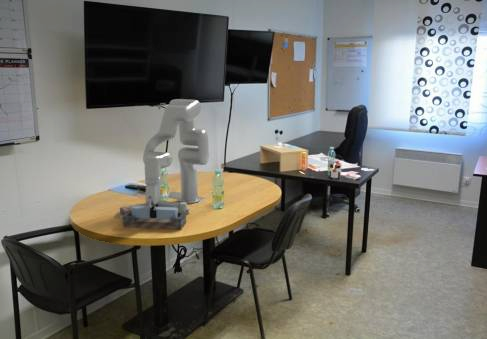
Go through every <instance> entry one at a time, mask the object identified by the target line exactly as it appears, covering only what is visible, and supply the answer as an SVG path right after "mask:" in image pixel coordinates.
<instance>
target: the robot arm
mask: <svg viewBox="0 0 487 339" xmlns="http://www.w3.org/2000/svg"><path fill="white" fill-rule="evenodd" d="M168 104H169V105H168V106H166V107H165V109H164V111H163V115H162V118H161V121H160V125H159V129H158V131H157V132H156V133H155V134H154V135H153V136H152V137H151V138H150V139H149V140H147V143H146V145H145V148H144V151H143V156H142V161H143V164H144V179H145V180H144V182H145V185H146V186H145V203H146V204H147V205H148V204H149V206H148V207H149V210H150V218H156V217H157V215H156V207H159V201H161V199H162V197H161V196H162V193H161V184H162V171H161V170H162V169H166V168H169V167H170V166H171V165H172V163H173V157H172V155H171V154H170V153H168V152H165V151H164V152H163V151H155V149H156V148H157V147H158V146H159V145H161V144H163V143H164V142H165V143H166V142H167V141H169V140H172V139H174V138H175V137H176V133H177V130H178V129H179V142H180V144H182V146H183V145H184V146H185V147H182V148H179V150H178V152H177V159H178V162H179V170H180V175H179V176H180V197H178V203H182V202H186V203H187V205H188V204H189V205H190V204H196V203H199V202H200V201H201V197H200V196H198V170H197V168H196V166H205V165H207V163H208V162H209V155H210V152H209V135H208V133H207V131H206V130H205V129H202V128H195V120H194V119H195V118H196V117H198V116H199V114H200V113H201V111H202V105H201V102H200V101H199V100H197V99H185V98H184V99H183V98H179V99H178V98H175V99H172V100H170V102H169V103H168ZM189 146H190V147H189ZM152 203H153V204H152ZM152 205H153V206H152Z"/></svg>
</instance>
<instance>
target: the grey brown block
mask: <svg viewBox="0 0 487 339" xmlns="http://www.w3.org/2000/svg"><path fill="white" fill-rule="evenodd" d="M133 206H149V204H148V205H147V204H146V202H145V203H138V204H132V205H126V206H121V207H119V210H117V211H116V213H117V215H118V217H119V218H120V219H121V220H123V216H124V215H125V214H126V213H127V212H128V211H129V210H131V208H132V207H133Z"/></svg>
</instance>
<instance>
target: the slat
mask: <svg viewBox="0 0 487 339" xmlns="http://www.w3.org/2000/svg"><path fill="white" fill-rule="evenodd" d="M131 210H132V216H135V218H144V219H166V220H170V218H171V217H178V212H179V211H178V208H175V207H156V215H157V217H156V218H150V210H149V207H148V206H133V207H132V208H131Z"/></svg>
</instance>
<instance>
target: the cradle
mask: <svg viewBox="0 0 487 339" xmlns="http://www.w3.org/2000/svg"><path fill="white" fill-rule="evenodd" d="M186 223H187V214H186V212H179V211H178V217H171V218H170V220H166V219H144V218H135V216H132V210H129V211H128V212H127V213H126V214H125V215H124V216H123V219H122V225H123V226H122V227H123V228H137V229H138V228H139V229H156V230H157V229H158V230H160V229H161V230H178V231H181V230H183V228H184V226H185V225H186Z"/></svg>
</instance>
